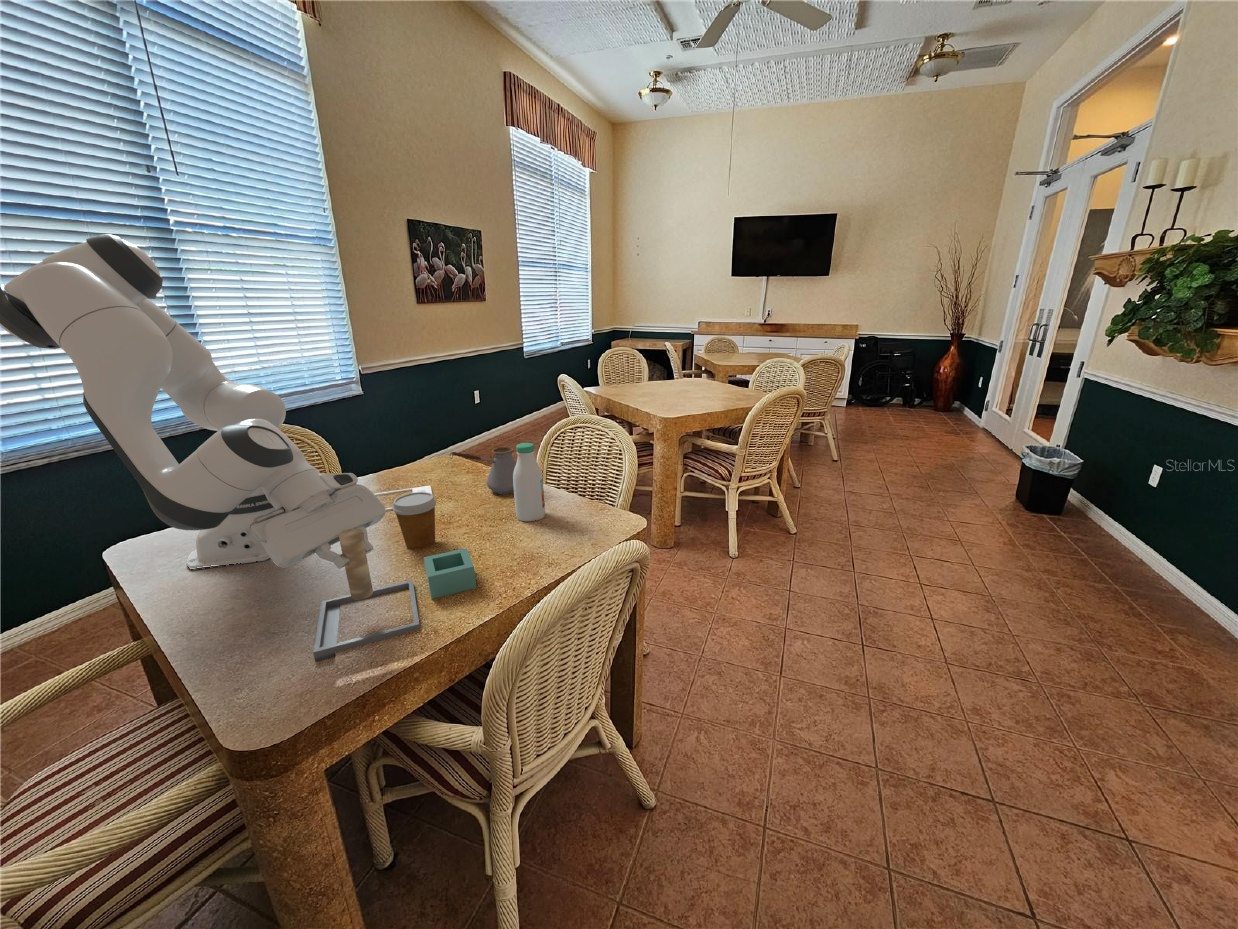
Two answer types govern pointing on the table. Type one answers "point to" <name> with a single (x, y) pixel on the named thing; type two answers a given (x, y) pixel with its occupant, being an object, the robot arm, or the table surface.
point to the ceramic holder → (450, 573)
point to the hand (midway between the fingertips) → (357, 558)
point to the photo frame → (417, 489)
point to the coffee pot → (498, 469)
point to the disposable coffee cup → (416, 518)
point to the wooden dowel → (356, 564)
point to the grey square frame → (328, 637)
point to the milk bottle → (528, 485)
